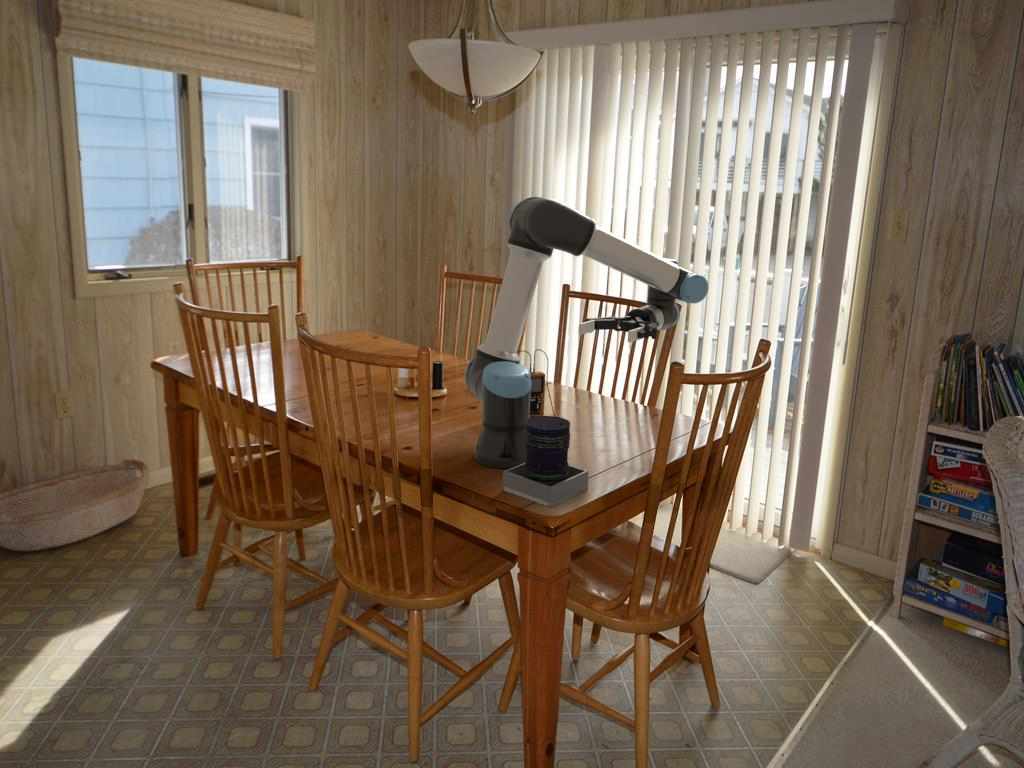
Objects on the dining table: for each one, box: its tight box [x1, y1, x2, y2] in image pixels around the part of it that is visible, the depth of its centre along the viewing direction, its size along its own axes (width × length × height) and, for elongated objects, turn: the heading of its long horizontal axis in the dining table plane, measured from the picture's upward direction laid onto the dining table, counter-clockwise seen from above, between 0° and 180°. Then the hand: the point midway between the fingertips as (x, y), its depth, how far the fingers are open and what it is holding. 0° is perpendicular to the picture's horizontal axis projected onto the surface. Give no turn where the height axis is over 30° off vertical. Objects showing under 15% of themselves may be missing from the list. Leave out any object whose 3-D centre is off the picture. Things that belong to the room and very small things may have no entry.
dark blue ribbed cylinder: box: [524, 415, 571, 486], centre depth 174 cm, size 10×10×15 cm
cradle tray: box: [502, 463, 589, 508], centre depth 175 cm, size 14×14×4 cm
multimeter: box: [517, 348, 556, 418], centre depth 224 cm, size 15×10×20 cm
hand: (604, 332), depth 189 cm, fingers open, 13 cm apart
